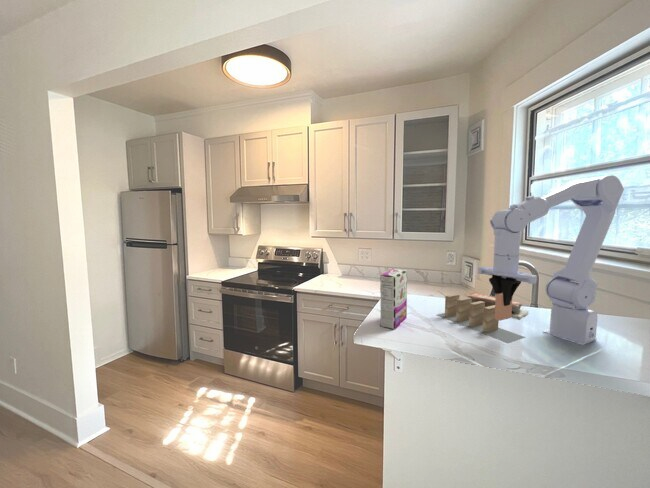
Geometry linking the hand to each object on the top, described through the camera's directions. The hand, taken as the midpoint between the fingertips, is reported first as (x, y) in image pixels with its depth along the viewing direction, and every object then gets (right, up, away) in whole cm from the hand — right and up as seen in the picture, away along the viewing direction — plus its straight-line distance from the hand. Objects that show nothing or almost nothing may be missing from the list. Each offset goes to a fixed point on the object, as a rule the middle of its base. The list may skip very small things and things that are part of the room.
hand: (503, 304), depth 79 cm
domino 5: (0, -4, 0) cm, 4 cm away
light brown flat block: (0, -9, +6) cm, 11 cm away
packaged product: (+12, -8, +25) cm, 28 cm away
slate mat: (-2, -9, +10) cm, 14 cm away
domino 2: (-4, -8, +14) cm, 17 cm away
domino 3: (-2, -8, +10) cm, 13 cm away
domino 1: (-6, -8, +18) cm, 20 cm away
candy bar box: (-27, -9, +13) cm, 31 cm away
